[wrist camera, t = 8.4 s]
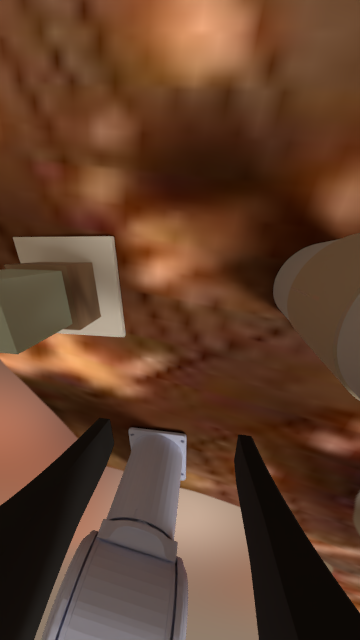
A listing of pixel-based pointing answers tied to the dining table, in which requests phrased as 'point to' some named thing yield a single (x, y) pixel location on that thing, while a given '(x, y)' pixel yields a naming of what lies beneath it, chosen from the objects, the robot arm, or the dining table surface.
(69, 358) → the dining table surface
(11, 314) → the sage block
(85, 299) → the walnut block
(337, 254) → the coffee cup
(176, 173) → the dining table surface
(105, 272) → the stone tile
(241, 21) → the dining table surface
